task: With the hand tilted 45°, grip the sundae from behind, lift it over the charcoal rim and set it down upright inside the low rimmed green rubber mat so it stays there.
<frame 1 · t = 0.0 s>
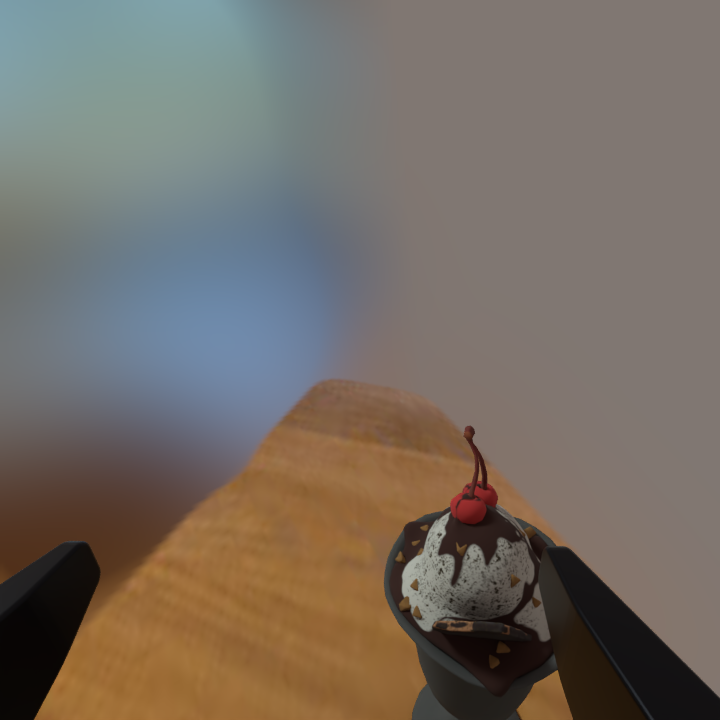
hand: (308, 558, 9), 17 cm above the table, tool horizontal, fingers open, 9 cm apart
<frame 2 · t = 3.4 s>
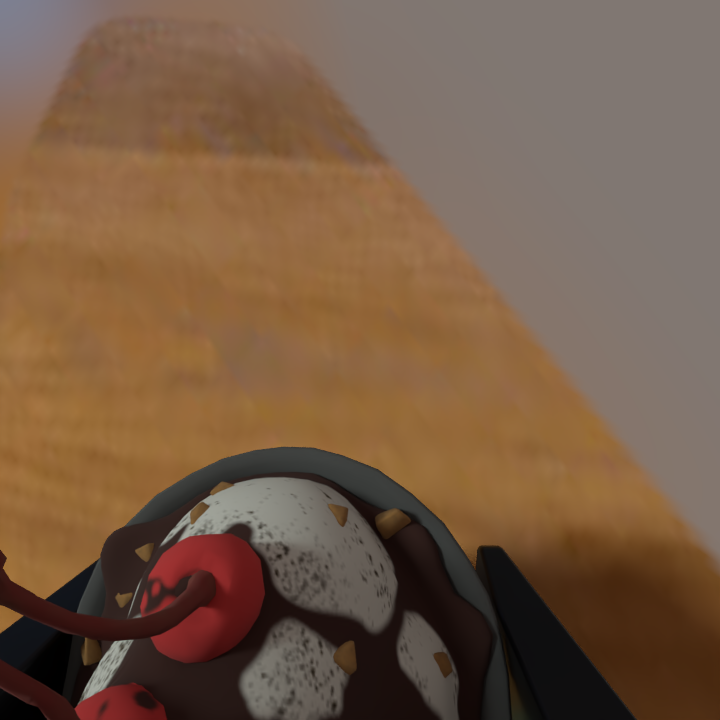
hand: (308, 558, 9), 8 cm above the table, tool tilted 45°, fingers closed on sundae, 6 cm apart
sundae: (351, 577, 16), on the table, touching gripper
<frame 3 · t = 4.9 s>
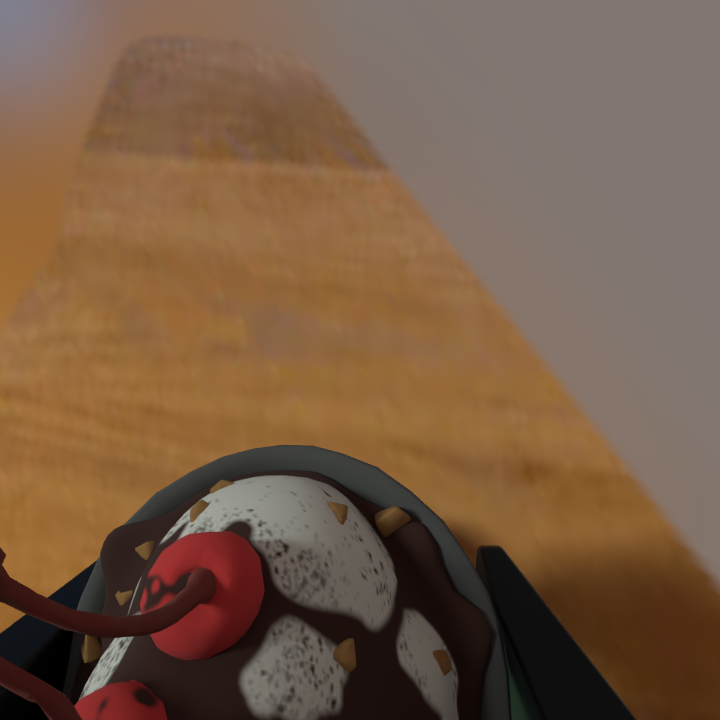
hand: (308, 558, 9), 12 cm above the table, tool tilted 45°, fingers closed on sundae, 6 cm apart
sundae: (351, 575, 16), point 4 cm above the table, touching gripper
when the fingers open (10 cm above the table, at t = 6.7 s): sundae drops 1 cm, resting on rimmed mat.
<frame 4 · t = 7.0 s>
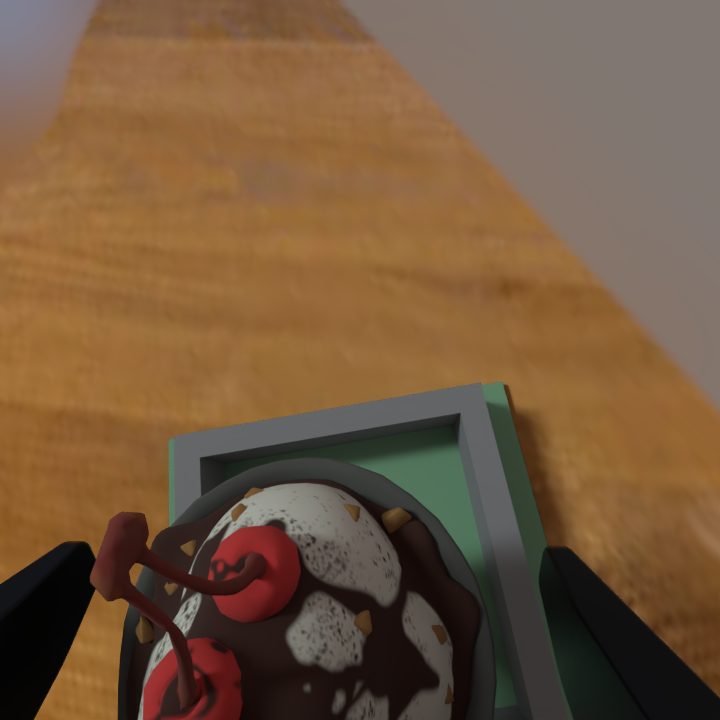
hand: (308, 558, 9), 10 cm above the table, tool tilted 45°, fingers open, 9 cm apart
rimmed mat: (356, 570, 17), on the table
sundae: (354, 578, 17), resting on rimmed mat
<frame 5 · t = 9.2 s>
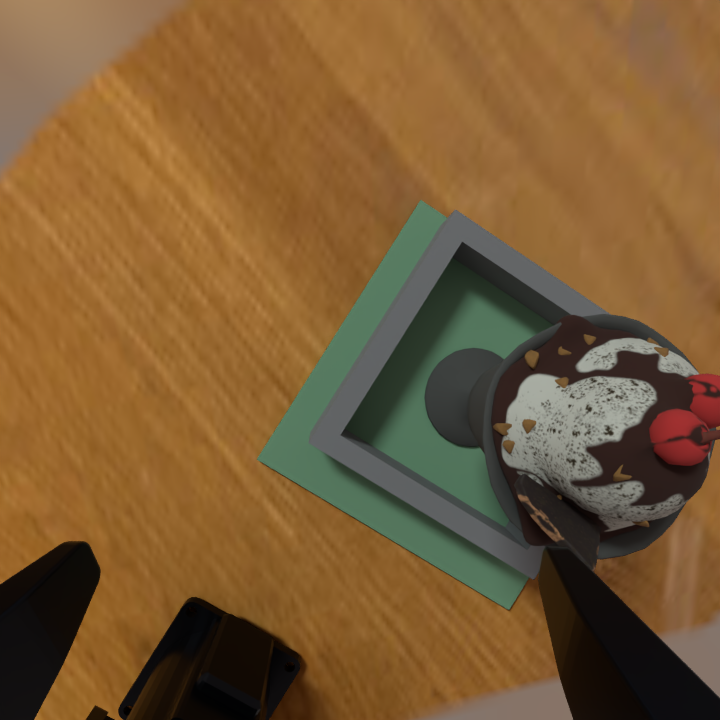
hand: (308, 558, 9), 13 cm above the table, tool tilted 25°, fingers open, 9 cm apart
rimmed mat: (474, 391, 22), on the table
sundae: (471, 395, 22), resting on rimmed mat
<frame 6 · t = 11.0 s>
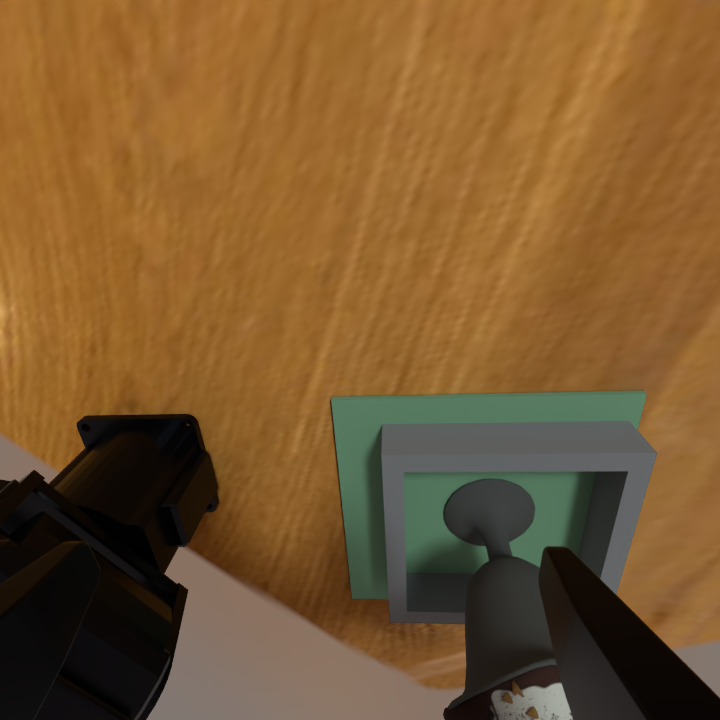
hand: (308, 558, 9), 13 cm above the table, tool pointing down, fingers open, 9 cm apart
rimmed mat: (493, 508, 25), on the table
sundae: (488, 509, 24), resting on rimmed mat
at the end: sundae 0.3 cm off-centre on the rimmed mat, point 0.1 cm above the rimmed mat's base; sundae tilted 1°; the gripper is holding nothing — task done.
